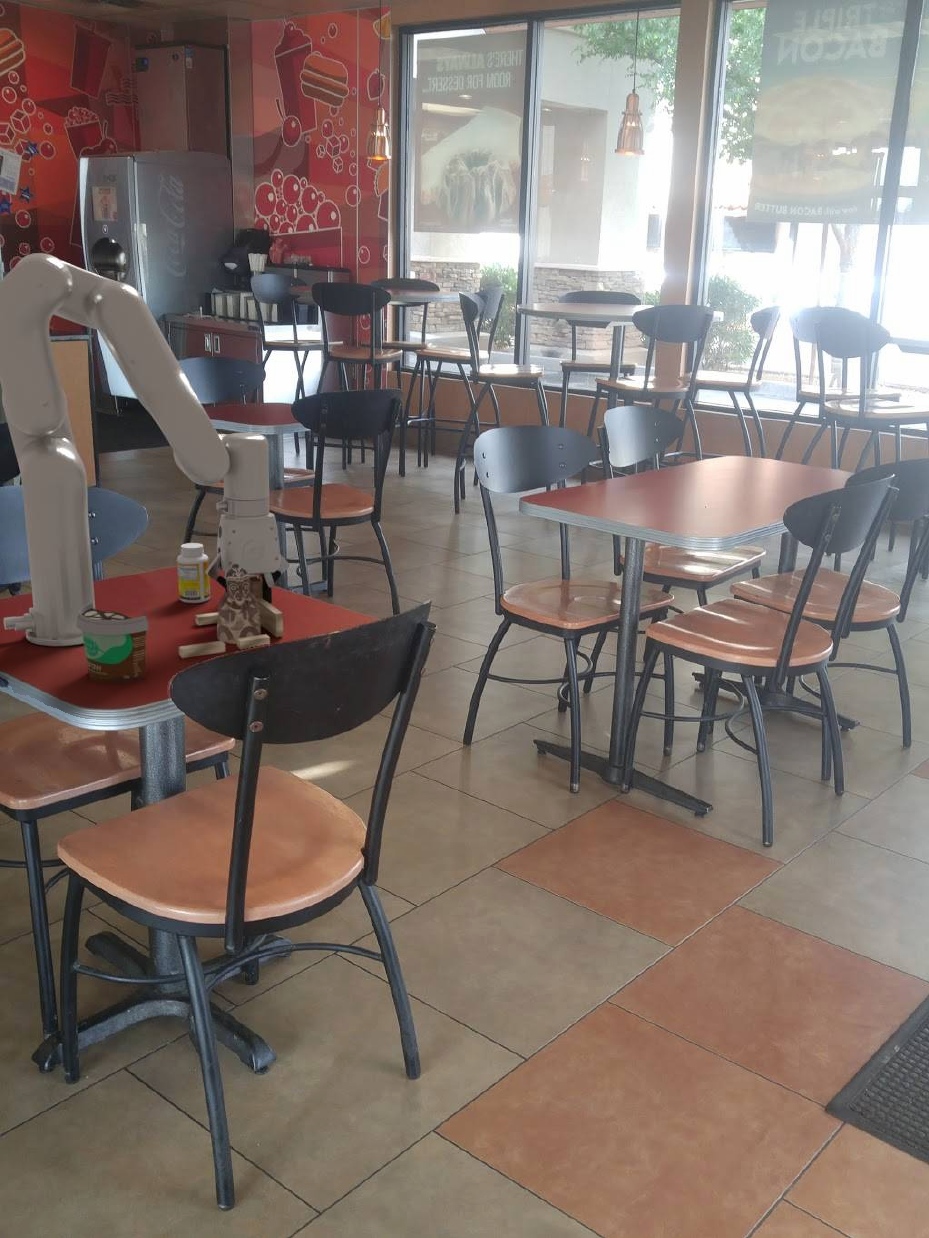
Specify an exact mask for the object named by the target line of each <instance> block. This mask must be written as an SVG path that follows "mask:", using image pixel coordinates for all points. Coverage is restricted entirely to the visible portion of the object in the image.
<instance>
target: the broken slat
mask: <svg viewBox="0 0 929 1238" xmlns="http://www.w3.org/2000/svg"><path fill="white" fill-rule="evenodd" d="M264 644H270V645H271V637H270V636H269V635H268V634H267V633H265V634H261V635H258V636H251V637H244V638H237V644H236V647H237V648H238V649H239V650H245V649H247V648H248V649H252V648H251V647H254V648H256V647H255V646H261V645H264ZM261 647H262V646H261ZM225 652H226V642H223V641H221V640H217V641H209V642H204V643H203V642H202V643H195V644H189V645H181V646H178V655H179V656H180V658H182V659H185V658H186V659H187V658H191V657H192V658H193V657H198V656H207V655H213V654H222V653H225Z"/></svg>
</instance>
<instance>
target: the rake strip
mask: <svg viewBox="0 0 929 1238" xmlns="http://www.w3.org/2000/svg"><path fill="white" fill-rule="evenodd" d="M250 592H251V593H252V594H253V595H254V596H255V598H256V600H257V602H258V606H259V617H260V625H261V627H263V628H264V629H265V630H266V631H268V632H269V633H270V634H272V635H273V636H274V637H276V638H280V637H284V618H283V617H284V615H283V614H284V613H283V612H282V611H280V610H279V609H277V608H276V607H275V606H273V605H272V603H271V604H269V603H268V602H267V601H265V600H264V599H263V598H262V580H260V579H259V578H257V577H256V576H254V575H250ZM218 612H219V611H217V612H208V613H200V614H195V624H196V625H197V626H203V625H204V626H205V625H213V624H217V623H218Z"/></svg>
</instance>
